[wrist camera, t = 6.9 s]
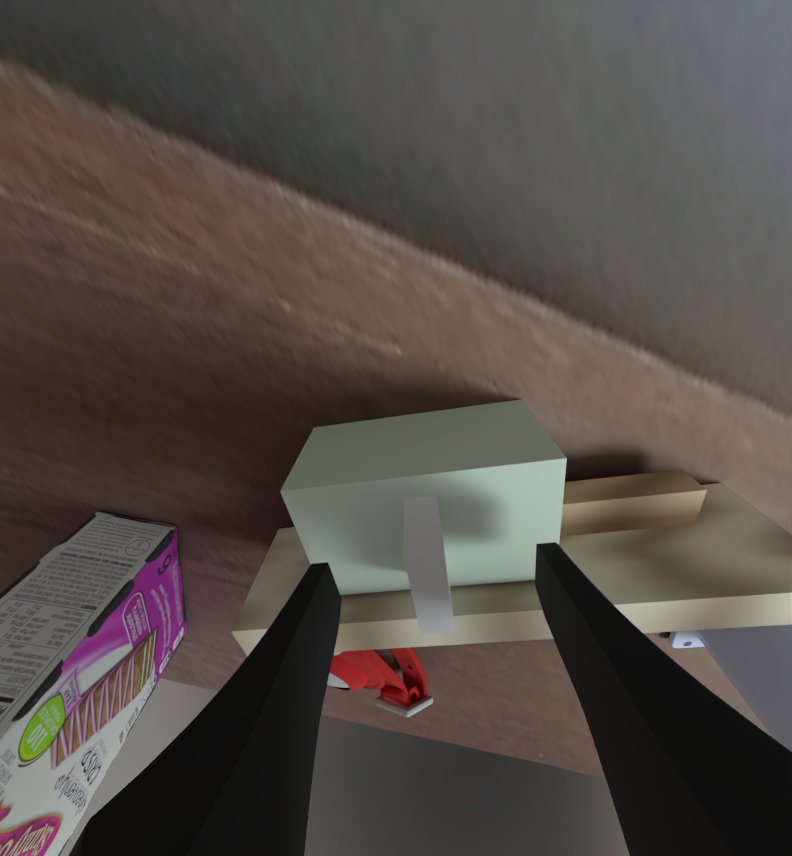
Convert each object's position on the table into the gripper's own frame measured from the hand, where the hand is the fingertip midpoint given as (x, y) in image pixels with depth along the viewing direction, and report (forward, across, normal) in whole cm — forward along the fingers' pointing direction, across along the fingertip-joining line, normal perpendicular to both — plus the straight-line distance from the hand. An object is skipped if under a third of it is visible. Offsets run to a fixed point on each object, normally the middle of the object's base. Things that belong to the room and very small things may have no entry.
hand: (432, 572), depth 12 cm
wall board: (+6, -3, +4) cm, 8 cm away
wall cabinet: (+6, 0, 0) cm, 7 cm away
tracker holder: (+7, +7, +15) cm, 18 cm away
